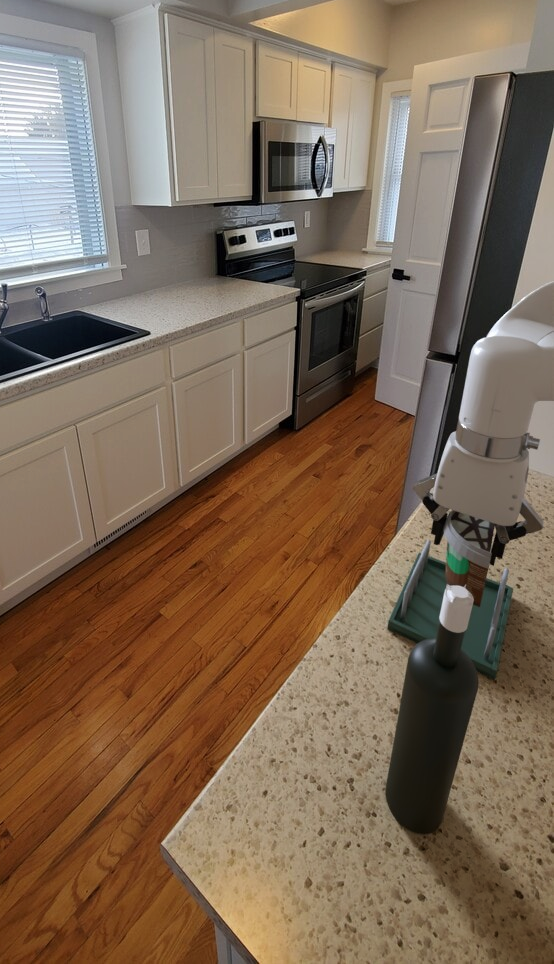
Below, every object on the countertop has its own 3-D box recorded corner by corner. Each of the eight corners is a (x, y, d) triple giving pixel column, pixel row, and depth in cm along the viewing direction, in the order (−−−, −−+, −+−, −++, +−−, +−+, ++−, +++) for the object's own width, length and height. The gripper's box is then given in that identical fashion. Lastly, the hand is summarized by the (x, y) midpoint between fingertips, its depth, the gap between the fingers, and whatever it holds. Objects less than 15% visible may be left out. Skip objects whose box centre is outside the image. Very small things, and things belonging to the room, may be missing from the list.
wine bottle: (403, 758, 55) (442, 554, 43) (453, 802, 51) (512, 592, 39) (374, 798, 51) (408, 590, 39) (425, 850, 48) (480, 636, 35)
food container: (444, 541, 76) (452, 488, 72) (488, 555, 72) (500, 500, 68) (428, 597, 66) (437, 539, 62) (478, 615, 63) (491, 556, 59)
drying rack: (510, 596, 75) (520, 564, 72) (494, 680, 63) (504, 645, 60) (417, 560, 82) (422, 529, 79) (387, 629, 70) (391, 595, 67)
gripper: (574, 442, 58) (539, 556, 66) (424, 408, 67) (409, 512, 75) (571, 472, 53) (534, 594, 60) (409, 431, 62) (393, 541, 69)
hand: (465, 547), depth 67 cm, fingers closed on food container, 6 cm apart
